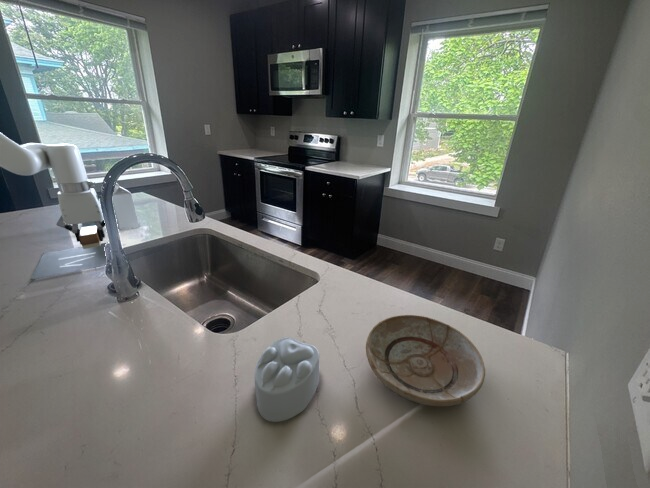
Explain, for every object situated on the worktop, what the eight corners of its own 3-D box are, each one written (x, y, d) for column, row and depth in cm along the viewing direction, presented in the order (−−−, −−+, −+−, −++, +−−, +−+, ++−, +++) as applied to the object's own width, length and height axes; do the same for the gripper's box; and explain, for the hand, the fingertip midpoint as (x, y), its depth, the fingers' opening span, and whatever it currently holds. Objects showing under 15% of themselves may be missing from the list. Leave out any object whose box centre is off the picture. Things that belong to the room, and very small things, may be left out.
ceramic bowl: (360, 328, 74) (361, 311, 72) (454, 332, 74) (459, 316, 72) (369, 415, 53) (372, 396, 51) (501, 422, 53) (510, 403, 51)
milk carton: (135, 222, 132) (124, 180, 124) (140, 227, 128) (129, 183, 120) (116, 226, 128) (104, 182, 120) (120, 231, 123) (108, 186, 115)
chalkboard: (31, 283, 87) (30, 280, 87) (44, 255, 103) (43, 252, 102) (112, 266, 97) (111, 264, 97) (113, 244, 112) (113, 241, 112)
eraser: (100, 245, 97) (96, 233, 95) (83, 248, 94) (78, 236, 92) (101, 237, 103) (97, 225, 101) (85, 239, 100) (81, 227, 99)
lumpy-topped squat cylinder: (324, 376, 61) (326, 344, 57) (292, 433, 50) (291, 398, 46) (281, 358, 64) (279, 327, 61) (242, 408, 54) (238, 374, 50)
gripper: (108, 181, 98) (122, 232, 105) (40, 186, 89) (61, 241, 97) (107, 187, 92) (122, 240, 100) (35, 193, 84) (57, 251, 91)
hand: (92, 240), depth 98 cm, fingers closed on eraser, 4 cm apart
